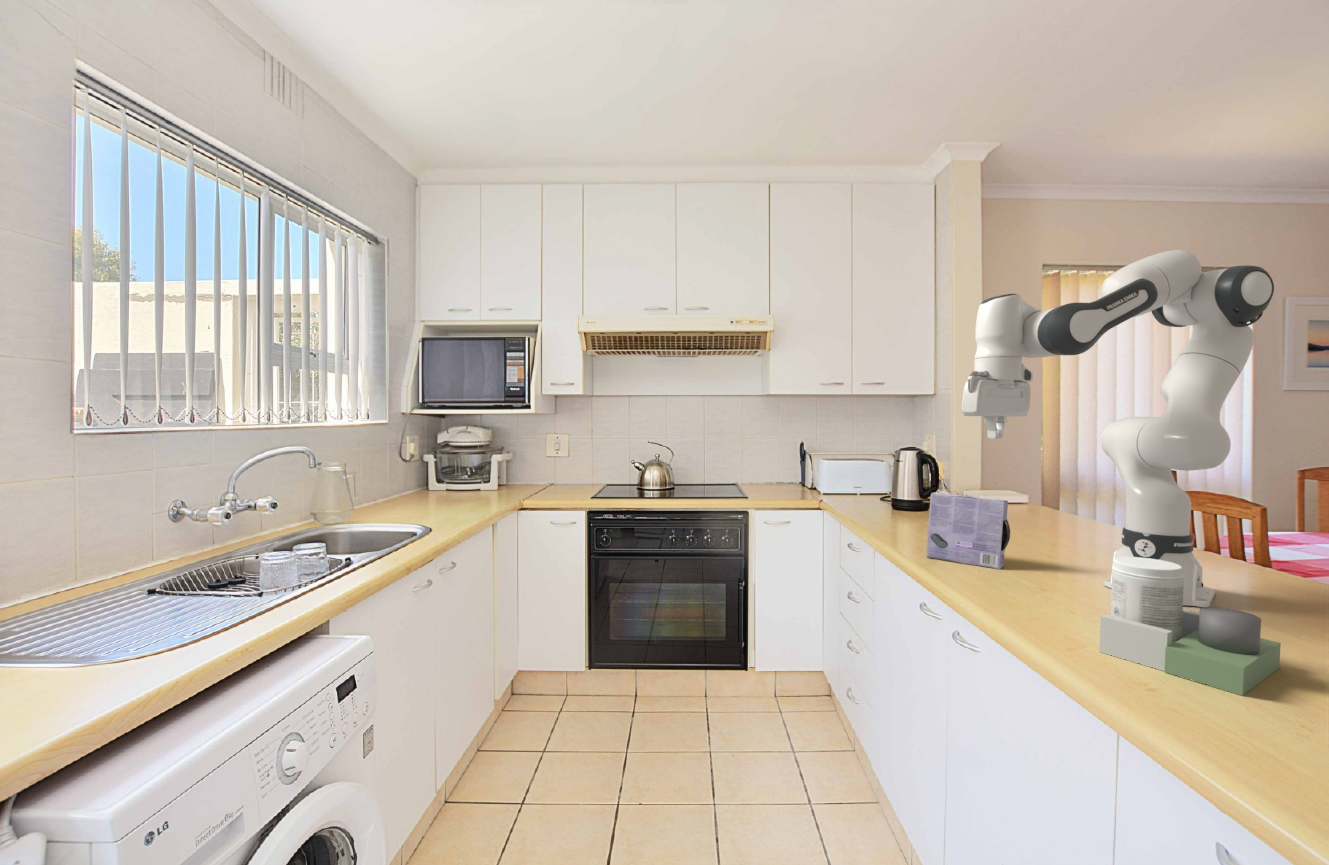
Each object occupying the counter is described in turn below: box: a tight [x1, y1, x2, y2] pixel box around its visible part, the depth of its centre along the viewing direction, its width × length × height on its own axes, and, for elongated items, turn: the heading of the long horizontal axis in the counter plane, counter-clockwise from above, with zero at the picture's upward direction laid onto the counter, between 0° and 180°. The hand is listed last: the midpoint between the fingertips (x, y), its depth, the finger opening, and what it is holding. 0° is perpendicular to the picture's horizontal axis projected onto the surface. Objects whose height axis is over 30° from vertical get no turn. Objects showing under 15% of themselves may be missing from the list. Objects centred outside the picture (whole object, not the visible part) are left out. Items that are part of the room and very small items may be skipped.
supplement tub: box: [1110, 557, 1184, 643], centre depth 104 cm, size 10×10×15 cm
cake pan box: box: [925, 491, 1011, 570], centre depth 162 cm, size 19×5×18 cm, turn 51°
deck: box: [1098, 606, 1282, 697], centre depth 100 cm, size 18×18×9 cm
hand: (995, 438), depth 130 cm, fingers closed
